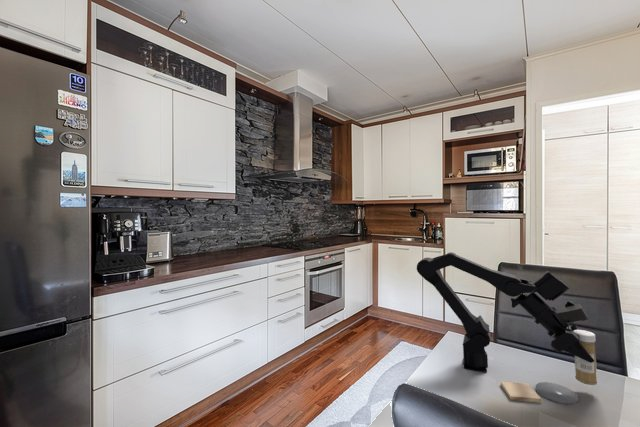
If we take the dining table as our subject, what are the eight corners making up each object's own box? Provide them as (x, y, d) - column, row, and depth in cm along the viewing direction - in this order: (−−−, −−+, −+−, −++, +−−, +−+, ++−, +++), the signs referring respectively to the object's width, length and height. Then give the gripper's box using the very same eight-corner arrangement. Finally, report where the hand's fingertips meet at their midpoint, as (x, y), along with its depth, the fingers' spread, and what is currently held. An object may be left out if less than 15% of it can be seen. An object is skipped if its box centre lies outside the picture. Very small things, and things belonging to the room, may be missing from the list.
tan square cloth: (510, 399, 77) (510, 396, 77) (500, 384, 84) (500, 381, 84) (540, 402, 76) (540, 398, 76) (528, 387, 83) (527, 383, 83)
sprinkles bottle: (599, 382, 79) (597, 332, 79) (594, 388, 77) (592, 337, 77) (577, 374, 83) (576, 327, 83) (572, 380, 80) (570, 331, 81)
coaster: (541, 400, 77) (541, 397, 77) (531, 381, 85) (531, 379, 85) (584, 407, 73) (584, 405, 73) (570, 387, 82) (570, 385, 82)
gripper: (566, 302, 75) (629, 357, 68) (562, 287, 90) (614, 330, 83) (529, 326, 80) (585, 379, 73) (532, 308, 95) (578, 351, 88)
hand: (591, 358), depth 79 cm, fingers closed on sprinkles bottle, 4 cm apart
